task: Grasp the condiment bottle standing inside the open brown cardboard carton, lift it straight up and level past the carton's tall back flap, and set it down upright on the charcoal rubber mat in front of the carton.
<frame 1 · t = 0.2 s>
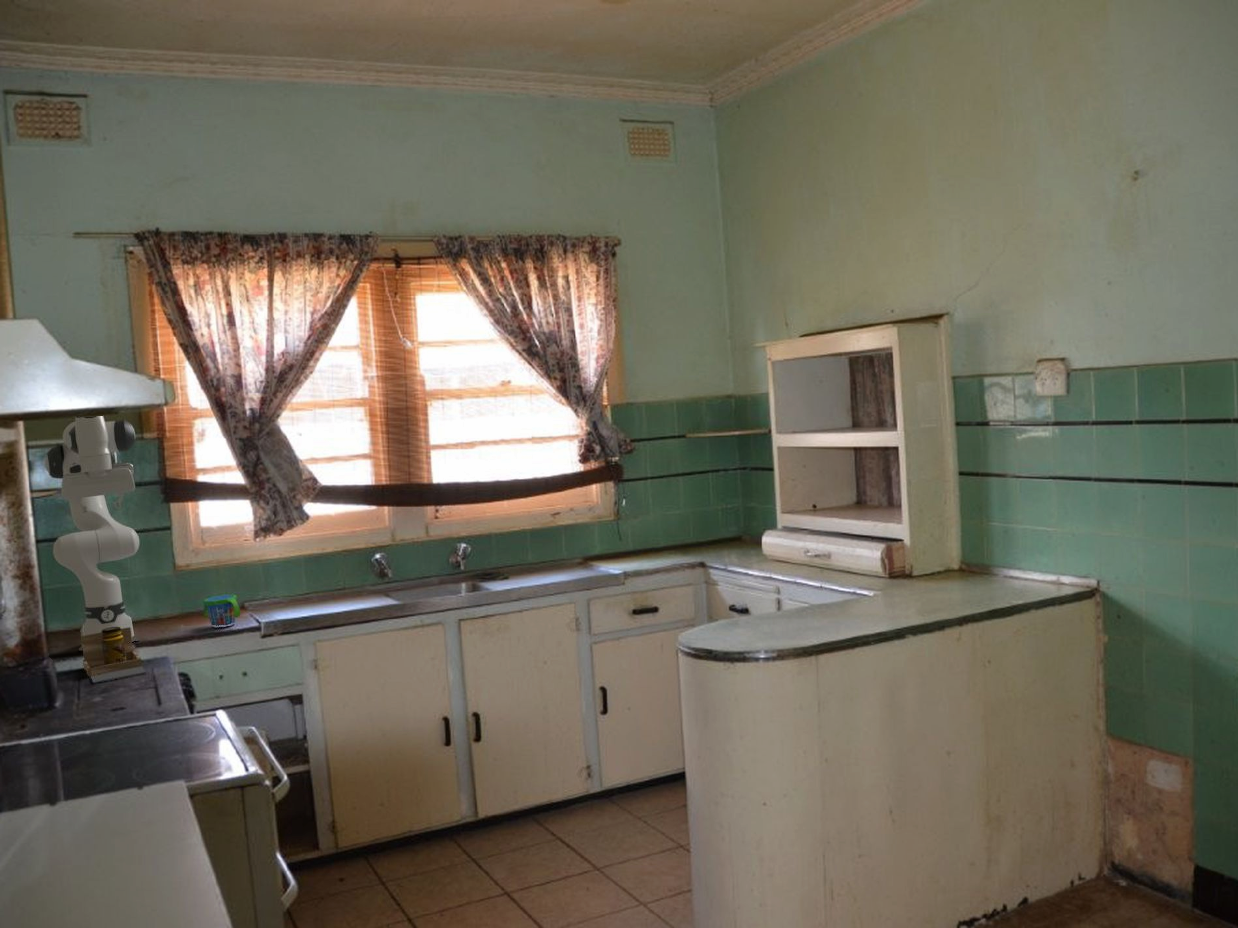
hand: (101, 510, 336), 47 cm above the countertop, tool pointing down, fingers open, 8 cm apart
condiment: (113, 668, 333), resting in carton
carton: (112, 667, 333), on the countertop
mat: (118, 675, 321), on the countertop
snack cup: (223, 627, 383), on the countertop
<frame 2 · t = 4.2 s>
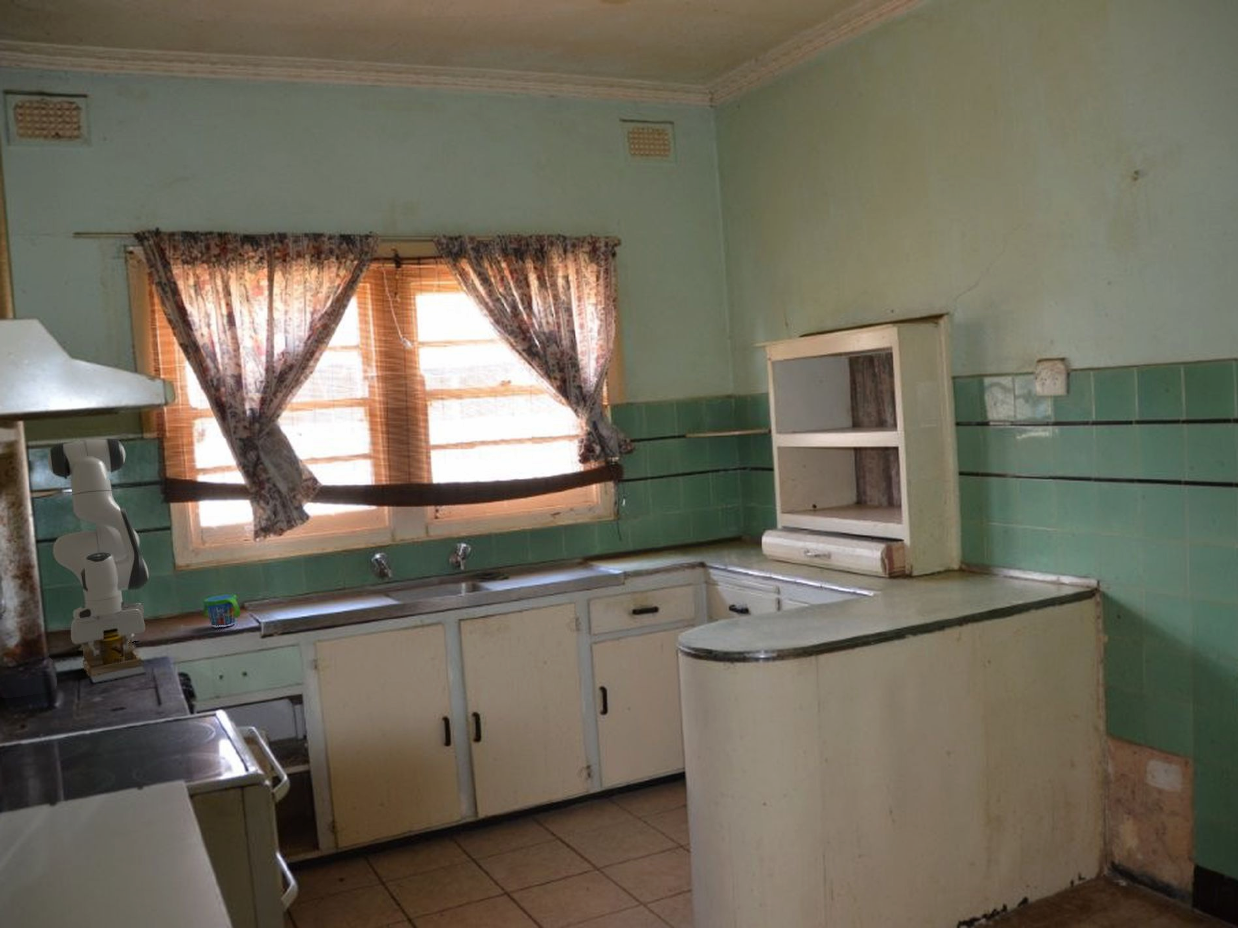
hand: (111, 652, 333), 5 cm above the countertop, tool pointing down, fingers open, 7 cm apart
condiment: (111, 668, 333), resting in carton, touching gripper
everything else where it was.
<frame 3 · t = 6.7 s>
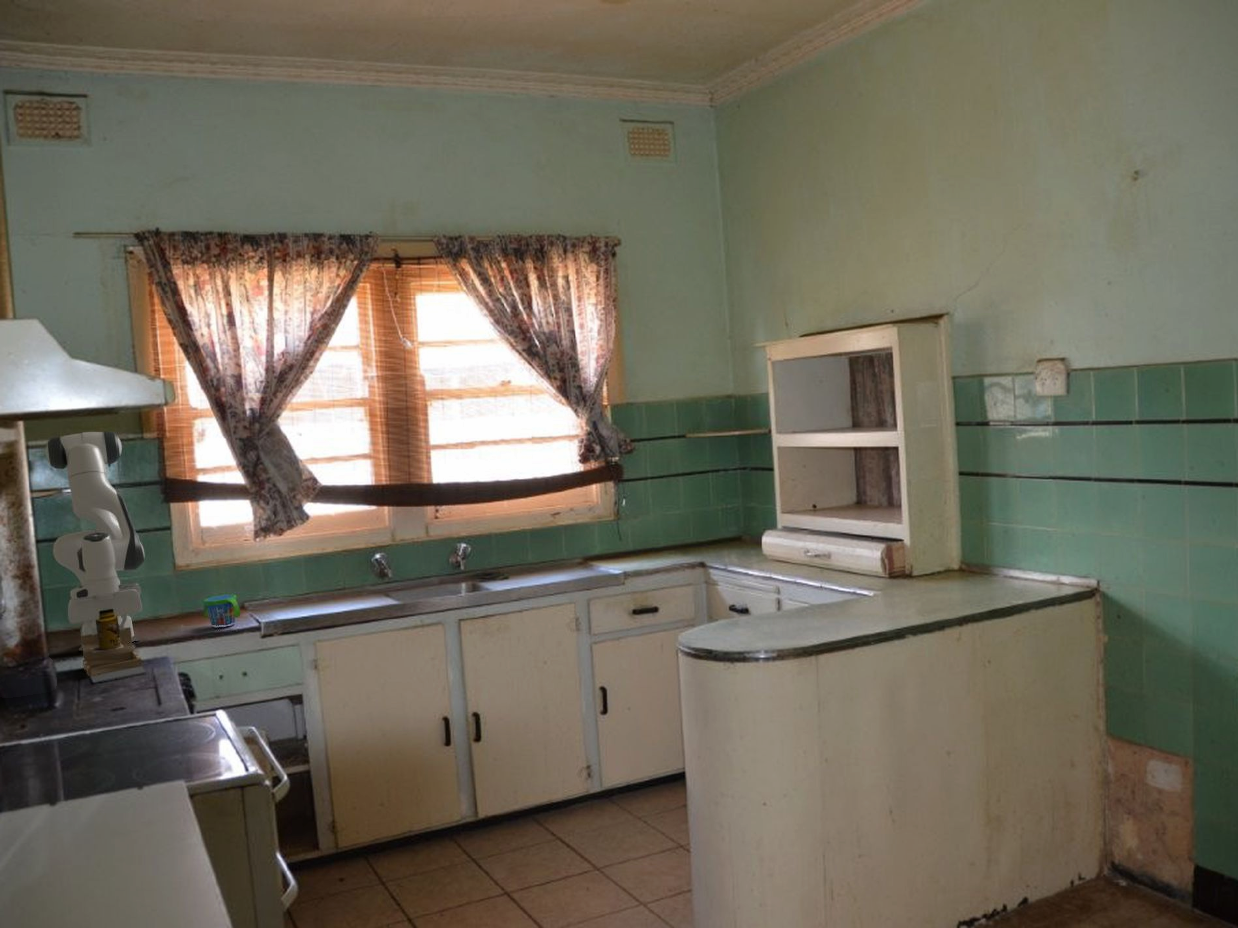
hand: (108, 632, 333), 11 cm above the countertop, tool pointing down, fingers closed on condiment, 6 cm apart
condiment: (107, 649, 333), point 6 cm above the countertop, touching gripper
everything else where it was.
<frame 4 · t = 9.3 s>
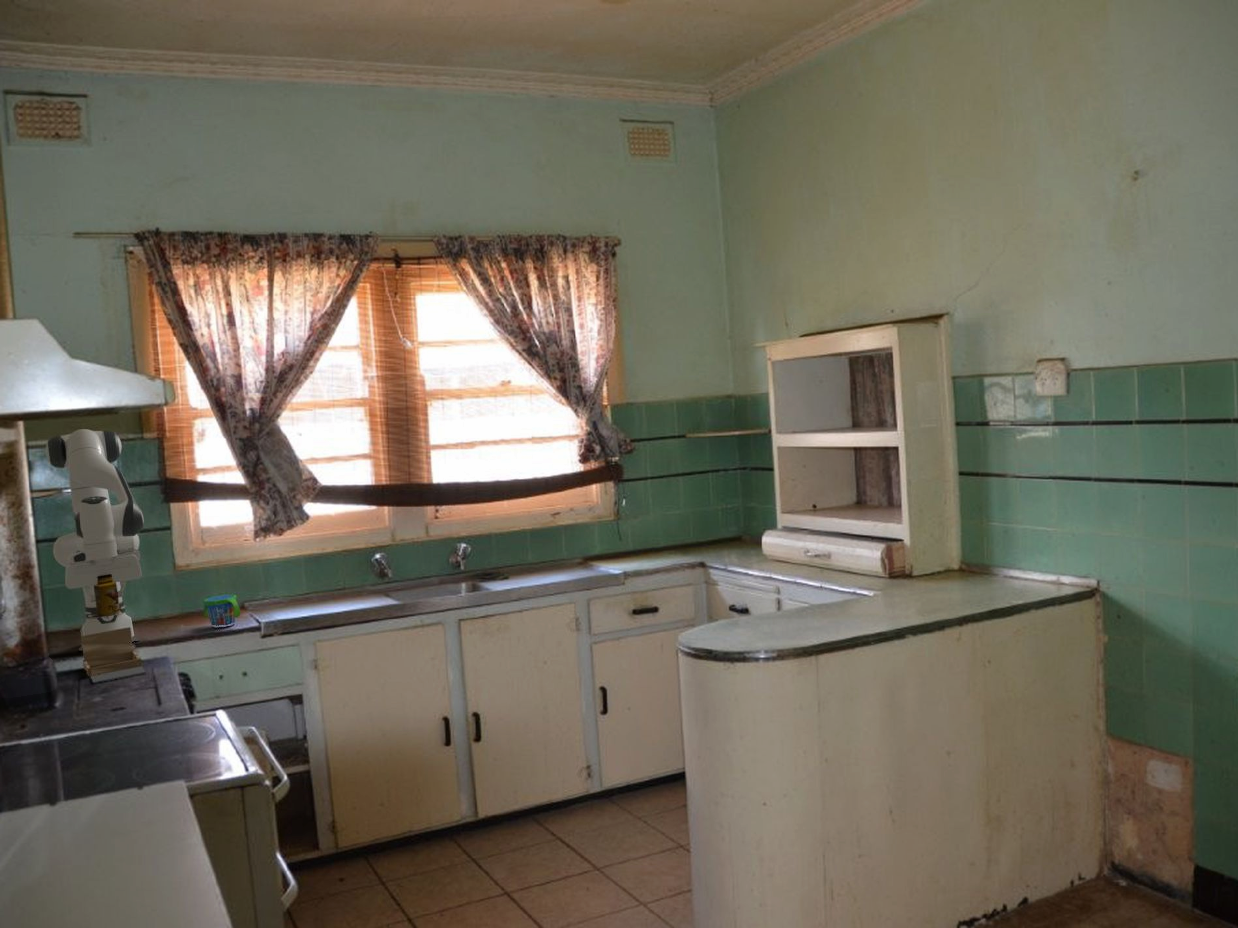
hand: (106, 599, 323), 22 cm above the countertop, tool pointing down, fingers closed on condiment, 6 cm apart
condiment: (105, 616, 323), point 17 cm above the countertop, touching gripper
everything else where it was.
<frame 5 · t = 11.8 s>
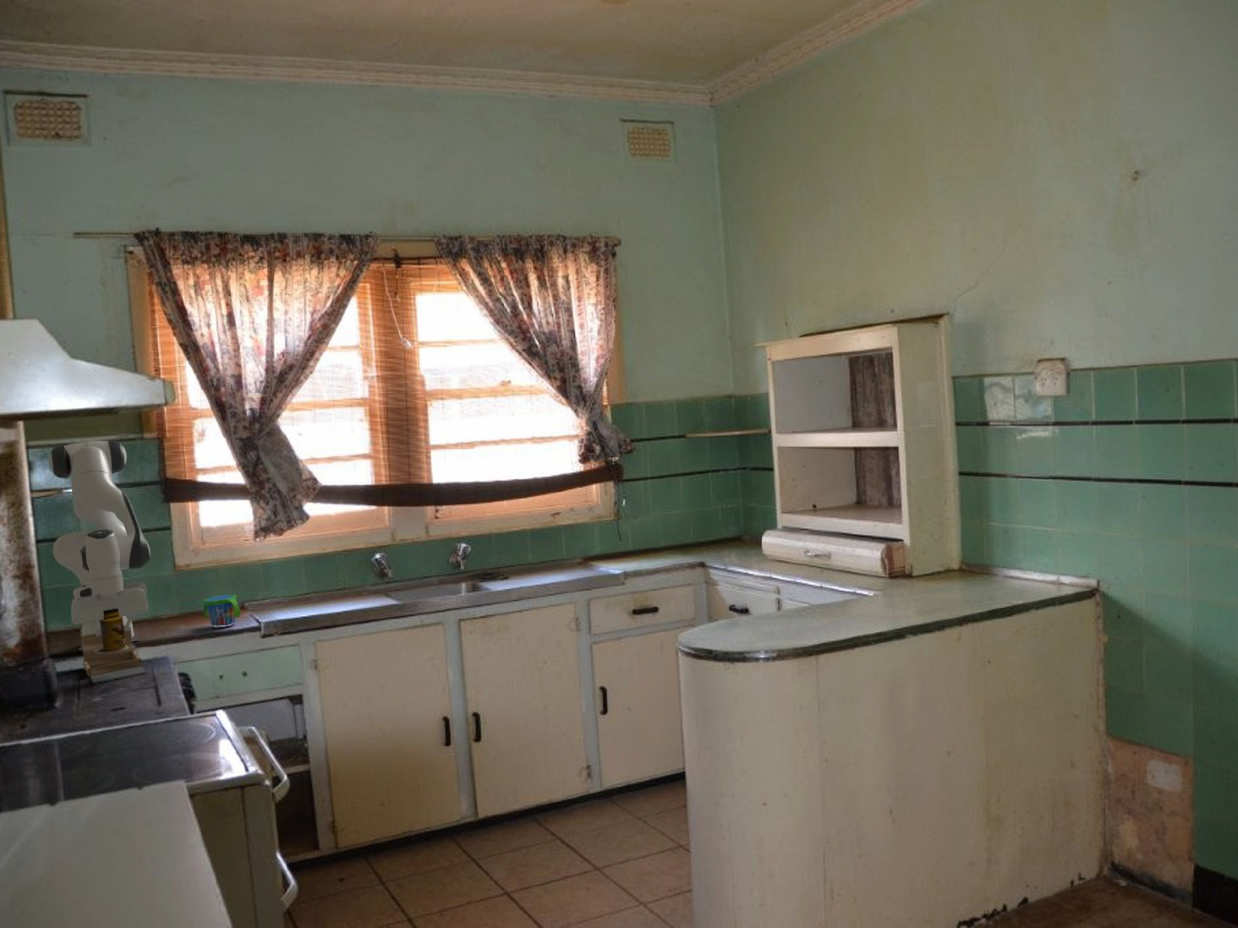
hand: (113, 633, 320), 13 cm above the countertop, tool pointing down, fingers closed on condiment, 6 cm apart
condiment: (111, 650, 320), point 8 cm above the countertop, touching gripper
everything else where it was.
when the fingers open (7 cm above the countertop, at t = 14.1 s): condiment drops 1 cm, resting on mat.
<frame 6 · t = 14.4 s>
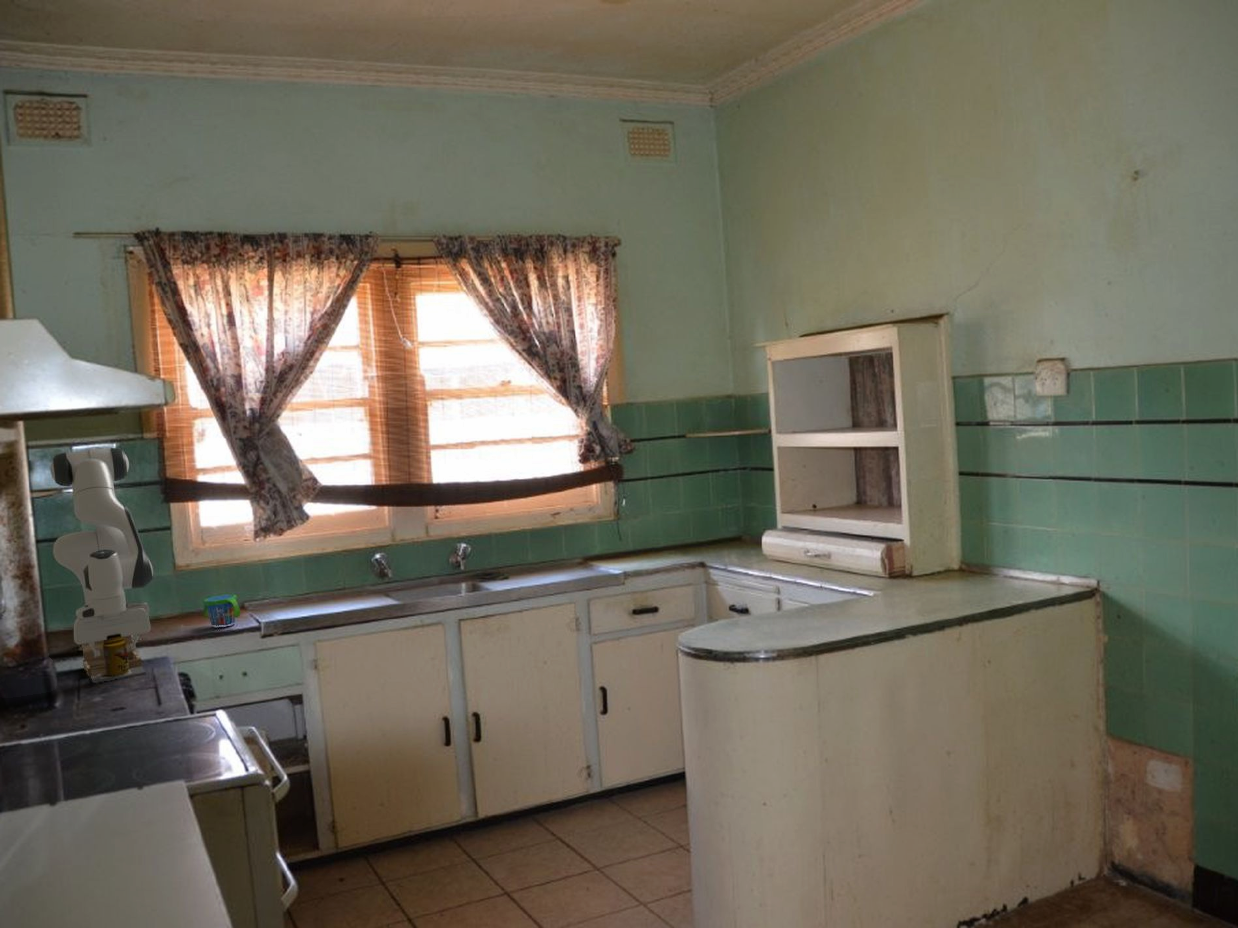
hand: (115, 653, 321), 7 cm above the countertop, tool pointing down, fingers open, 8 cm apart
condiment: (114, 675, 321), resting on mat
everything else where it was.
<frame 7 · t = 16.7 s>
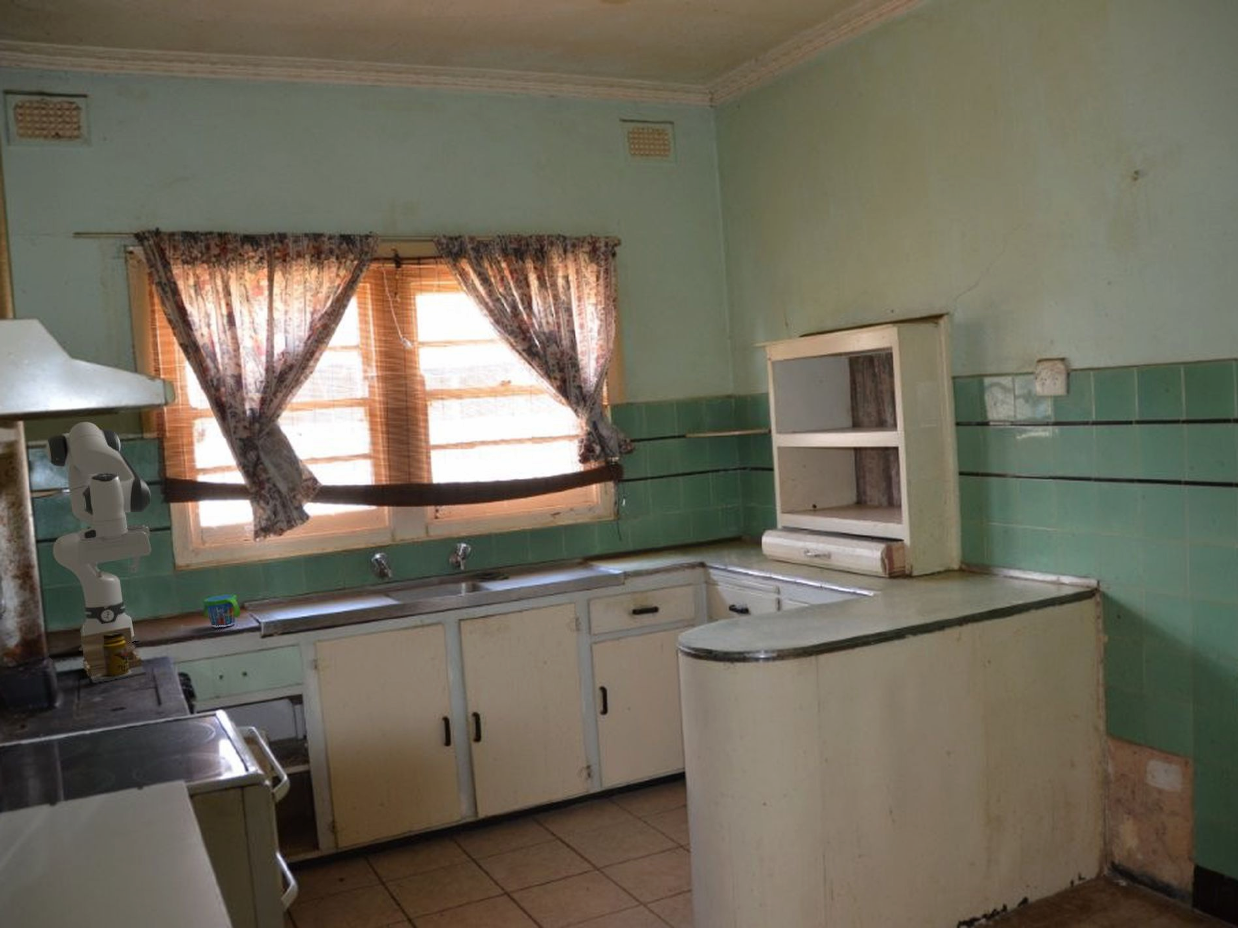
hand: (116, 574, 327), 28 cm above the countertop, tool pointing down, fingers open, 8 cm apart
nothing on the countertop moved.
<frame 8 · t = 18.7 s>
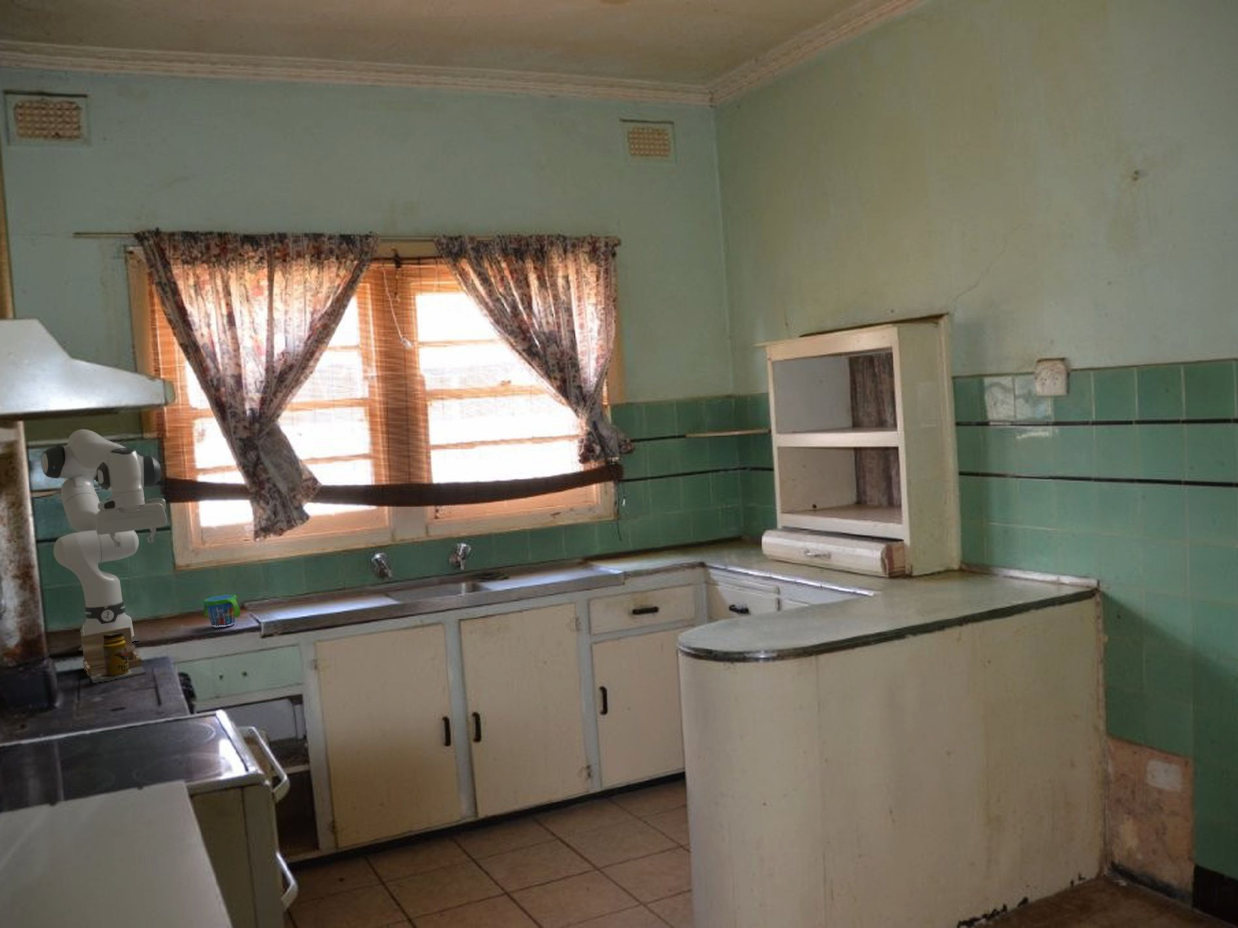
hand: (134, 545, 342), 35 cm above the countertop, tool pointing down, fingers open, 8 cm apart
nothing on the countertop moved.
at the end: condiment inside the target area (0.9 cm from its centre), resting on mat; condiment tilted 0°; the gripper is holding nothing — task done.
